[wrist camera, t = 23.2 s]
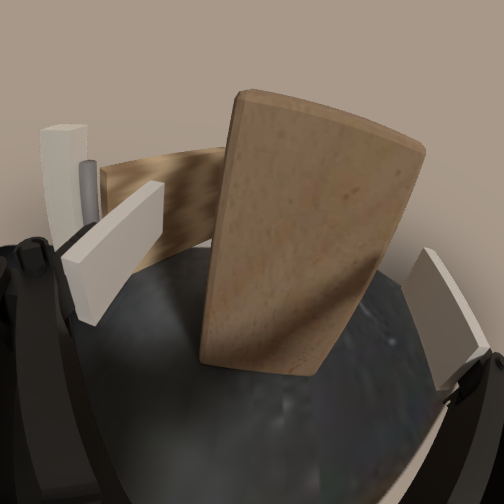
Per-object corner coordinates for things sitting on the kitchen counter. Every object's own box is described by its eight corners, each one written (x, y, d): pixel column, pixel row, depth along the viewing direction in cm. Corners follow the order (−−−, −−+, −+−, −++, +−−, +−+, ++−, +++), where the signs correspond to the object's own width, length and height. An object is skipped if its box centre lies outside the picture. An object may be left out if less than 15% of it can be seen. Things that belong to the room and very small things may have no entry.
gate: (115, 281, 27) (106, 172, 21) (104, 268, 28) (94, 164, 22) (218, 235, 39) (232, 150, 32) (204, 226, 40) (216, 144, 33)
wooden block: (213, 287, 30) (247, 87, 19) (303, 301, 31) (367, 119, 20) (197, 365, 22) (235, 88, 11) (313, 378, 22) (431, 148, 11)
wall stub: (61, 276, 26) (39, 130, 17) (72, 264, 28) (57, 124, 19) (100, 292, 25) (85, 131, 17) (112, 278, 27) (103, 125, 19)
